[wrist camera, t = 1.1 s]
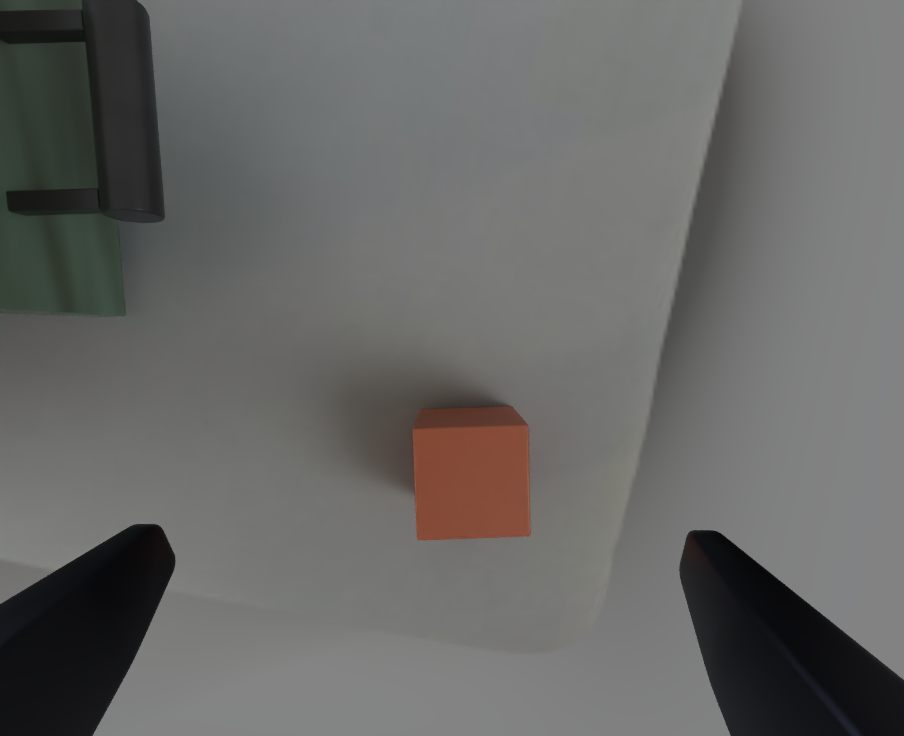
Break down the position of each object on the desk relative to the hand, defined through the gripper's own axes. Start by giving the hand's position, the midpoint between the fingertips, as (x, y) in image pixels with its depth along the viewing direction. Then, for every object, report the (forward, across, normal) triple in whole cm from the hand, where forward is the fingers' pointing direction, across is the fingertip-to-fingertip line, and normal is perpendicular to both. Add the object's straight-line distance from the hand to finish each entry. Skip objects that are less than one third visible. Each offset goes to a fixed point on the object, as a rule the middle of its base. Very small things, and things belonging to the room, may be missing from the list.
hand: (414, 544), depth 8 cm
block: (+10, 0, +6) cm, 12 cm away
